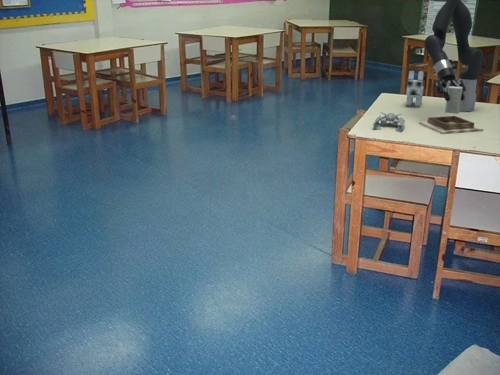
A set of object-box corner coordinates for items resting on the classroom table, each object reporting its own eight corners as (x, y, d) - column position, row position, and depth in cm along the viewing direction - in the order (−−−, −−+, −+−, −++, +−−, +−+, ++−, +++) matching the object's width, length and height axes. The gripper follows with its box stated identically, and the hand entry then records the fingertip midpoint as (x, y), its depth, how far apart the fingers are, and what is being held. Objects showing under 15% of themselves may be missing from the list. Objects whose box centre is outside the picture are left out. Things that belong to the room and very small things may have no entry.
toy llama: (422, 102, 307) (426, 68, 300) (418, 109, 292) (422, 72, 285) (408, 101, 310) (412, 67, 303) (404, 107, 295) (408, 71, 288)
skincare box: (459, 112, 252) (463, 86, 248) (458, 114, 249) (462, 88, 244) (445, 110, 255) (449, 85, 250) (444, 112, 251) (448, 87, 247)
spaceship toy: (372, 131, 249) (373, 118, 246) (377, 121, 266) (378, 109, 264) (402, 133, 244) (403, 120, 242) (405, 123, 262) (406, 111, 260)
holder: (456, 121, 266) (457, 114, 265) (483, 131, 248) (484, 123, 247) (418, 123, 261) (419, 116, 259) (442, 134, 243) (443, 126, 241)
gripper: (435, 67, 249) (446, 96, 243) (461, 66, 253) (473, 94, 247) (427, 76, 256) (438, 105, 250) (453, 75, 260) (464, 103, 253)
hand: (455, 99), depth 248 cm, fingers closed on skincare box, 7 cm apart
